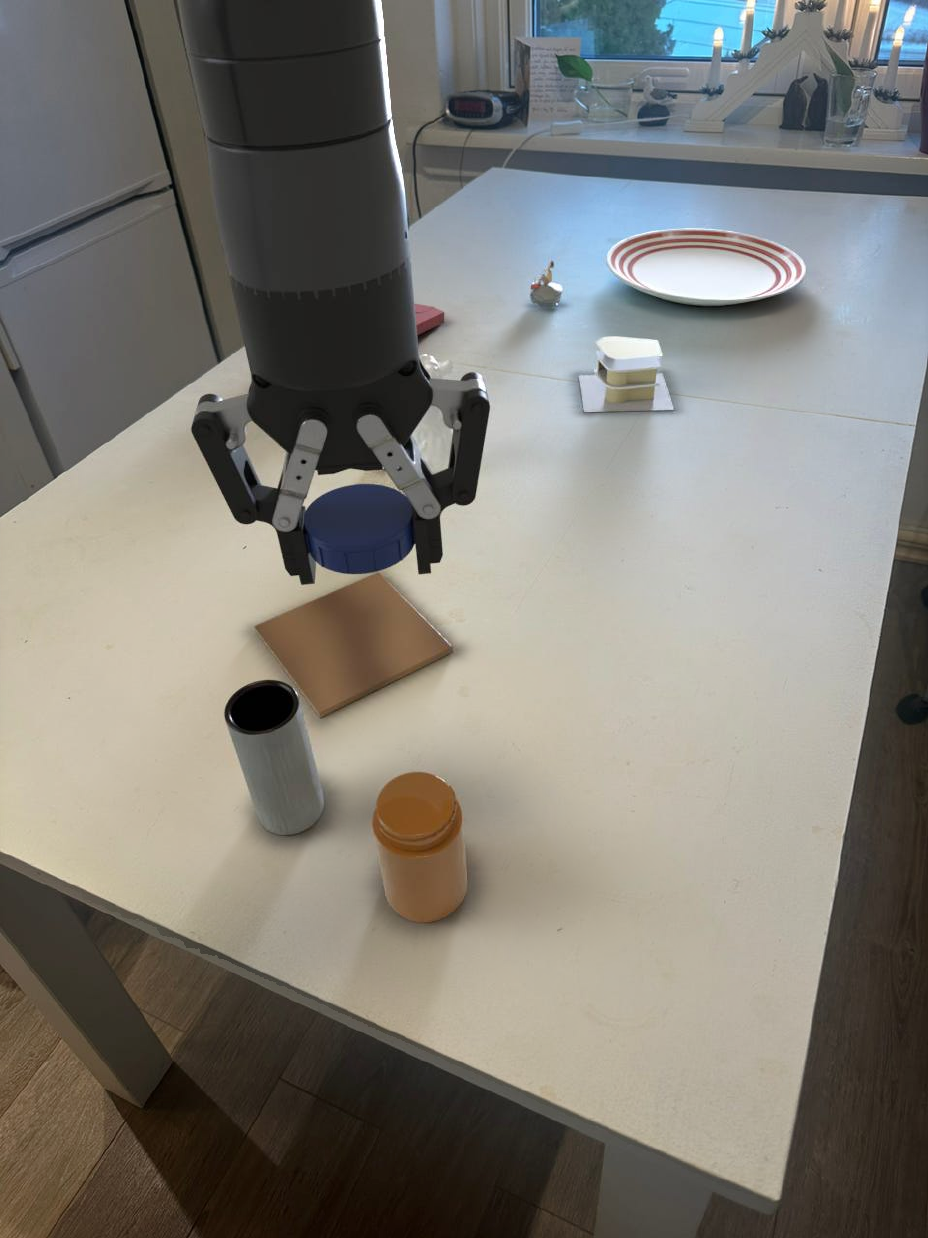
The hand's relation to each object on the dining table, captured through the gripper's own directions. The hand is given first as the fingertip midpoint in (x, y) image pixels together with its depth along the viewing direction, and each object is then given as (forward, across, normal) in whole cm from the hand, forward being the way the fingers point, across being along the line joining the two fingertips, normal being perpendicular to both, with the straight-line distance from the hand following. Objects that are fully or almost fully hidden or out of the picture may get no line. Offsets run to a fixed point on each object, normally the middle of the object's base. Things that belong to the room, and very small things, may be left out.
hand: (367, 568), depth 47 cm
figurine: (+20, +23, +81) cm, 86 cm away
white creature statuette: (+20, +4, +43) cm, 47 cm away
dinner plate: (+20, +46, +84) cm, 98 cm away
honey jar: (+20, +1, -7) cm, 21 cm away
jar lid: (-3, 0, 0) cm, 3 cm away
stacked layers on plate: (+20, +28, +54) cm, 64 cm away
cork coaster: (+20, -4, +16) cm, 25 cm away
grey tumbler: (+20, -8, 0) cm, 21 cm away
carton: (+20, -3, +71) cm, 74 cm away
